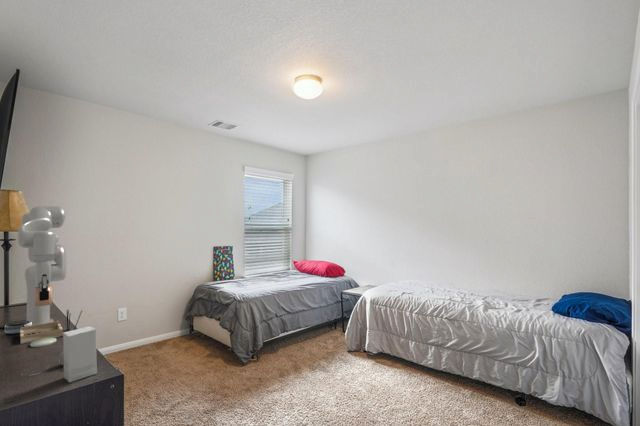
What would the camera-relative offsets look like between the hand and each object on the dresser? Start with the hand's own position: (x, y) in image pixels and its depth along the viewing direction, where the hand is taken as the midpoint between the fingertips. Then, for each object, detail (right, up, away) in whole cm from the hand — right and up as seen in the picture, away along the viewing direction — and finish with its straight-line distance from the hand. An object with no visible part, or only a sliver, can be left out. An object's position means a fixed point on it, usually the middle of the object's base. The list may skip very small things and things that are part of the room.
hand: (43, 298), depth 149 cm
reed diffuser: (+31, -18, -25) cm, 43 cm away
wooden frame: (-10, -20, +10) cm, 25 cm away
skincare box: (+42, -18, -35) cm, 57 cm away
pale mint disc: (+1, -20, -1) cm, 20 cm away
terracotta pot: (0, -3, 0) cm, 3 cm away
